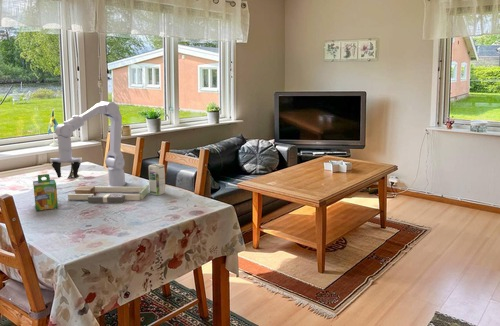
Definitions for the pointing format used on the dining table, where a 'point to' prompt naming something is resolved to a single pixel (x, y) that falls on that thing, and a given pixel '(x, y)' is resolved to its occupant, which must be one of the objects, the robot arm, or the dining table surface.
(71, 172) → the eiffel tower figurine
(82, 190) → the walnut block
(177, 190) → the dining table surface
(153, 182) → the syrup box
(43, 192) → the chalk box
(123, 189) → the trap lane
